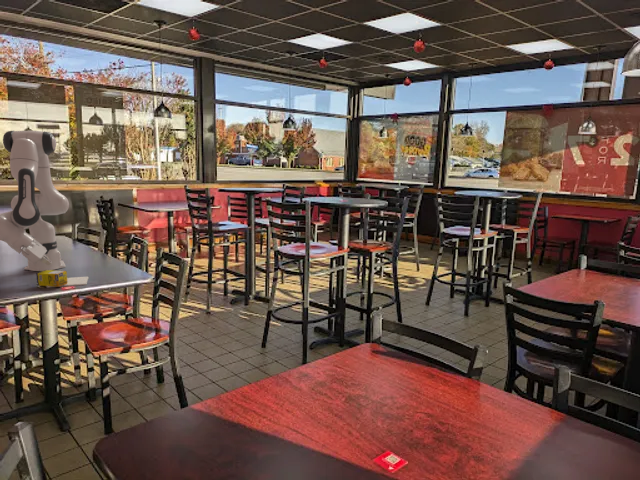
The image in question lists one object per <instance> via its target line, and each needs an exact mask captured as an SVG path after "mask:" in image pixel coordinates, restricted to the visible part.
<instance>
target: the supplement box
mask: <svg viewBox="0 0 640 480" xmlns="http://www.w3.org/2000/svg"><path fill="white" fill-rule="evenodd" d="M35 276H36V283H37V284H36V285H37V286H40V287H42V286H43V287H47V286H56V287H55V288H60V287H59V286H62V285H65V284H67V283H68V282H67V278H68V273H67V271H66V270H44V271H37V272H36V274H35Z"/></svg>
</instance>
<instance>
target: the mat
mask: <svg viewBox="0 0 640 480" xmlns="http://www.w3.org/2000/svg"><path fill="white" fill-rule="evenodd" d="M88 281H89V276H77V277H67V282H68V283H67V284H65V285H62V286H59V287H58V288H62V287H73V286H75V287H77V286H87V284H88ZM46 288H57V287H56V286H46Z"/></svg>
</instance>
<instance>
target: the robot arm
mask: <svg viewBox="0 0 640 480" xmlns="http://www.w3.org/2000/svg"><path fill="white" fill-rule="evenodd" d="M2 144H3V146H4V149H5V150H6V151H8V152H9V153H10V156H9V168H10V174H11V176H12V177H13V179H14V180H15V181H16V182H17V195H14V197H12V199H11V202H10V207H11V210H10V211H7V212H2V213H0V241H2V242H4V243H5V244H7V246H9V247H10V248H11V249H13V251H14V252H16V253H18V254H21V255H23V257H25V258H26V259H27V266H25V267H24V270H27V271H28V270H29V271H31V272H41V271H44V270H54V271H56V270H58V269H64V268H66V263H65V262H64V260H63V258H62V256H61V252H60V251H59V249H58V243H57V240H56V230H55V226H54V225H53V224H52V223H50V222H48V221H45V220H43V218H42V216H58V215H62V214H66V212H68V210H69V208H70V202H69V199H68V198H67V196H65V194H62V193H61V192H59V190H58V189H57V188H56V187H55V186H54V183H53V181H52V174H51V167H50V159H49V156H50V154H53V153H54V152H55V151H56V148H57V141H56V138H55V135H54V134H53V133H52V132H48V131H41V130H30V129H29V130H8V131H6V132H5V133H4V134H3V137H2ZM36 189H37V190H39V192H40V193H36V192H35V191H36ZM26 229H29V233H28V232H26V231H25V230H26Z"/></svg>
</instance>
